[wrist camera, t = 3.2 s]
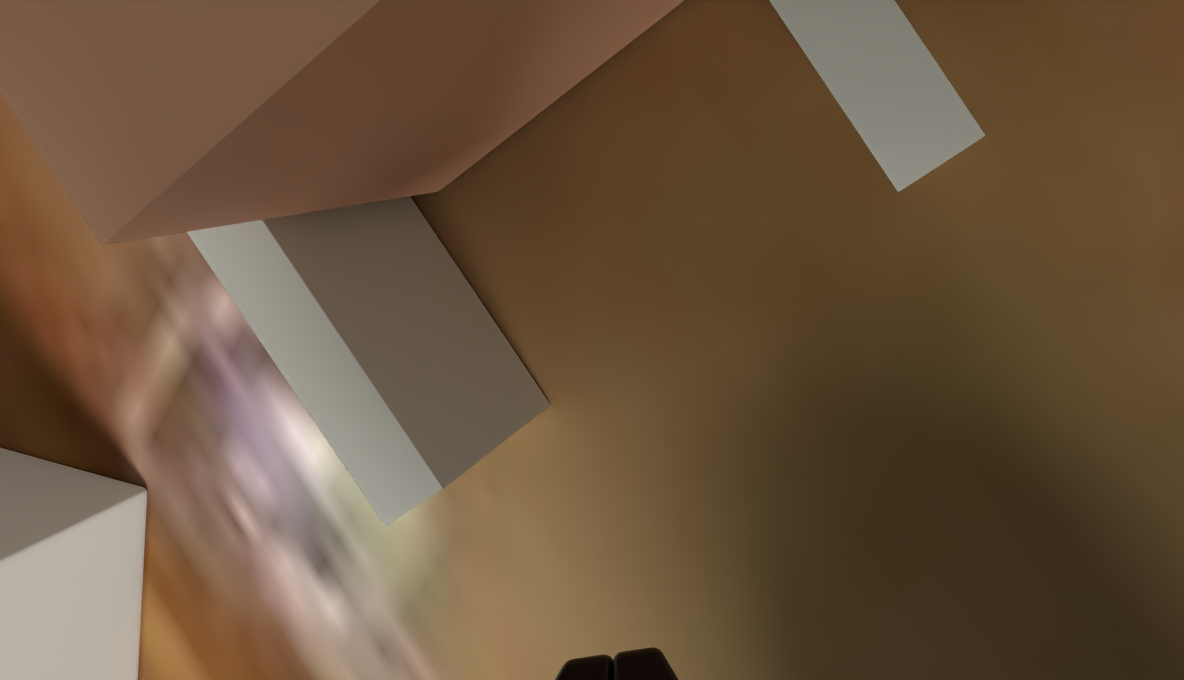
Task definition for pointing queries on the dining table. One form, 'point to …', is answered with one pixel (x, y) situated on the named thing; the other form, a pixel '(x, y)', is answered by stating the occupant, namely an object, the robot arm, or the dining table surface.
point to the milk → (69, 572)
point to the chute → (453, 310)
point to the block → (285, 97)
